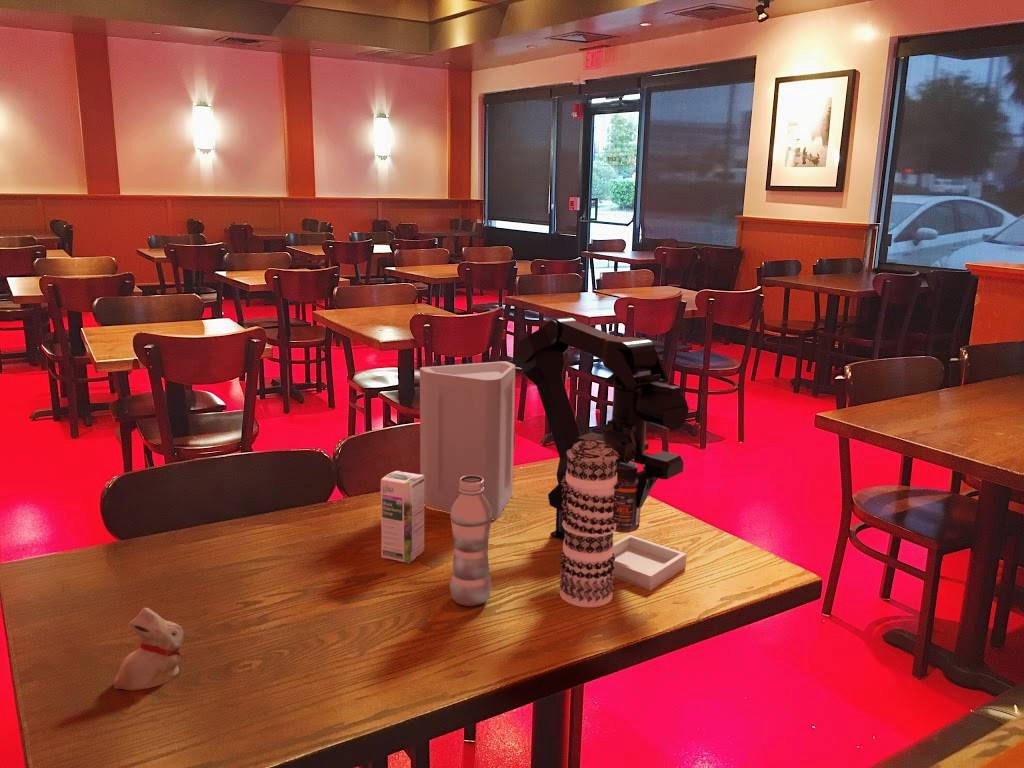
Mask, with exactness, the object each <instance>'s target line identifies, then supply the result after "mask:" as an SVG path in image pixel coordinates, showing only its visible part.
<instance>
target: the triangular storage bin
mask: <svg viewBox="0 0 1024 768" xmlns="http://www.w3.org/2000/svg"><path fill="white" fill-rule="evenodd" d="M515 389H516V364H515V363H511V362H509V361H505V360H504V361H503V360H501V361H492V362H491V361H490V362H478V363H476V362H475V363H474V362H473V363H462V364H461V363H460V364H449V365H439V366H438V365H435V366H424V367H423V366H422V367H419V433H420V434H419V438H420V439H419V440H420V441H419V442H420V445H419V446H420V447H419V450H420V451H419V452H420V453H419V455H420V457H419V459H420V462H419V464H420V465H419V467H420V468H419V469H420V471H419V473H420V474H419V475H424V504H425V506H427V507H430V508H433V509H437V510H442V511H446V512H451V508H452V505H453V504H454V502H455V501H456V499H457V498H458V497H459V496H460V494H461V493H460V492H459V487H460V478H462V477H464V476H469V475H475V476H480V477H482V478H483V480H484V492H483V493H482V494H483V496H484V497H485V498H486V500H487V501H488V503H489V505H490V507H491V510H492V519H496V520H498V519H499V518H500V517H499V516H501V515H502V513H503V512H502V511H504V510H505V509H506V507H507V506H508V504H509V502H510V501H511V499H512V498H511V496H512V497H513V487H514V486H513V482H514V480H513V478H514V439H515V438H514V437H515V434H514V433H515V400H516V399H515V398H516V397H515V396H516V394H515V391H516V390H515ZM510 498H511V499H510ZM509 500H510V501H509ZM508 501H509V502H508ZM507 503H508V504H507ZM506 505H507V506H506ZM505 506H506V507H505ZM504 508H505V509H504ZM503 509H504V510H503ZM500 514H501V515H500ZM498 517H499V518H498ZM497 518H498V519H497ZM492 519H491V521H493V520H492Z"/></svg>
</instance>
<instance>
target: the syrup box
mask: <svg viewBox="0 0 1024 768" xmlns="http://www.w3.org/2000/svg"><path fill="white" fill-rule="evenodd" d="M380 508H381V509H380V515H381V516H380V519H381V520H380V521H381V522H380V524H381V525H380V527H381V547H380V548H381V556H380V557H381V558H382V559H388V560H392V561H396V560H397V561H396V562H401V563H402V562H403V563H405V562H406V563H405V564H410V563H412V562H413V561H414V560H415V559H417V558H418V557H419V556H420V555H422V554H423V551H425V507H424V475H420V474H419V473H412V472H406V471H400V470H395V471H391V472H390V473H388V474H386V475H385V476H384V477H382V478H381V479H380ZM417 556H418V557H417ZM416 557H417V558H416ZM411 561H412V562H411Z"/></svg>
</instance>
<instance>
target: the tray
mask: <svg viewBox="0 0 1024 768" xmlns="http://www.w3.org/2000/svg"><path fill="white" fill-rule="evenodd" d="M612 543H613V544H614V545H613V553H614V557H615V560H614V561H613V564H614V565H613V566H614V570H613V572H612V573H613V577H614V579H618V580H620V581H624V582H626V583H628V584H632V585H633V586H636V587H639V588H642V589H645V590H648V591H652V590H653V589H655V588H657V587H658V586H660V585H661V584H662V583H664V582H665V581H667V580H668V579H670V578H672V577H673V576H675V575H676V574H677V573H679V572H681V571H682V570H684V569H685V568H686V567H687V553H685V552H682V551H681V550H676V549H674V548H671V547H668V546H664V545H662V544H658V543H656V542H652V541H650V540H646V539H643V538H640V537H637V536H634V535H631V534H627V535H625V536H624V537H623V538H620V539H619V540H617V541H615V542H612Z"/></svg>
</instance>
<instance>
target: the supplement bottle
mask: <svg viewBox="0 0 1024 768" xmlns="http://www.w3.org/2000/svg"><path fill="white" fill-rule="evenodd" d="M638 471H639V468H638V464H637V463H635V462H631V461H630V462H629V463H627V464H625V463H622V462H621V463H620V464H619V466H618V467H617V468H616V472H617V480H619V481H620V483H621V484H622V486H621V487H620V488H619V489H617V490H616V491H615V490H614V491H615V492H617V493H618V494H619V495H620V498H619V500H618V501H616V502H617V503H618V505H619V508H618V510H617V511H614V512H613V513H614V514H615V515H616V516H617V517H618V520H617V522H616V530H615V531H614V532H615V533H621V534H622V533H623V534H626V533H627V534H629V533H632V532H635V531H637V530H638V529H639V528H640V521H641V509H642V507H641V508H637V490H638V479H637V477H636V475H635V474H636V473H638Z"/></svg>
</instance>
